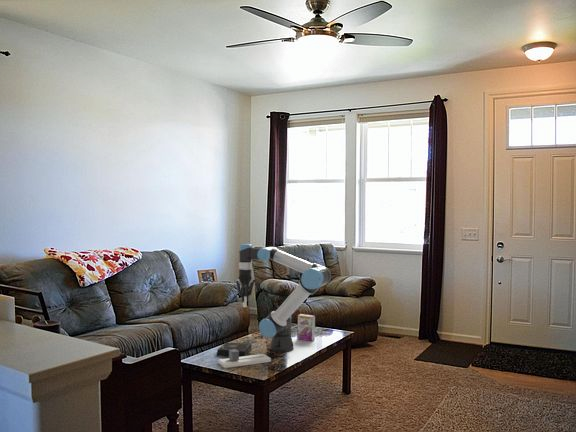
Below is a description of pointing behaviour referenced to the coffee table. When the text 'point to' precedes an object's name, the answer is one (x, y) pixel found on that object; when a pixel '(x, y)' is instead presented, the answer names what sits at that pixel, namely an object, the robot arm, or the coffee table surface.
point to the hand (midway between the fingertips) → (244, 306)
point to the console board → (245, 360)
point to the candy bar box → (306, 327)
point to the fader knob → (233, 355)
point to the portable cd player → (242, 348)
